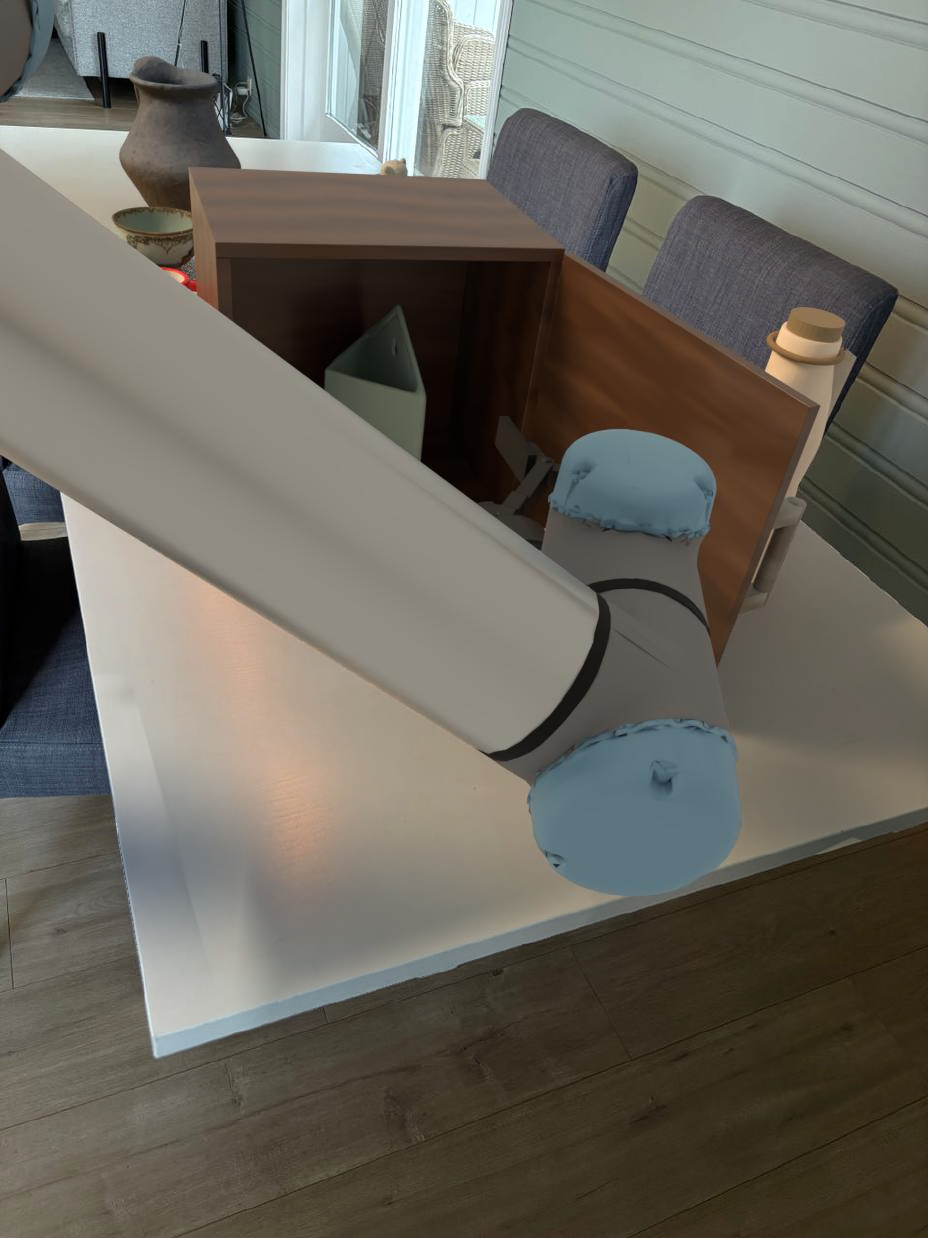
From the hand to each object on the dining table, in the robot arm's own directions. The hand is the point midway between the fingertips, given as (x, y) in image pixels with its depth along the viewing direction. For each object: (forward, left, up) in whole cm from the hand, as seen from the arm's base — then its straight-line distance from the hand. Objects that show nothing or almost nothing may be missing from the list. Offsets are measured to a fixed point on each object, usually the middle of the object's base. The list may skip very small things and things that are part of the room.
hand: (423, 433), depth 74 cm
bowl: (-31, +89, -20) cm, 97 cm away
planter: (-4, +23, -19) cm, 30 cm away
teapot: (+4, +90, -20) cm, 92 cm away
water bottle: (+37, +9, -20) cm, 43 cm away
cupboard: (-3, +23, -20) cm, 31 cm away
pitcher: (-30, +116, -20) cm, 122 cm away
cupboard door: (+22, +1, -19) cm, 29 cm away
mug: (-26, +64, -20) cm, 72 cm away
